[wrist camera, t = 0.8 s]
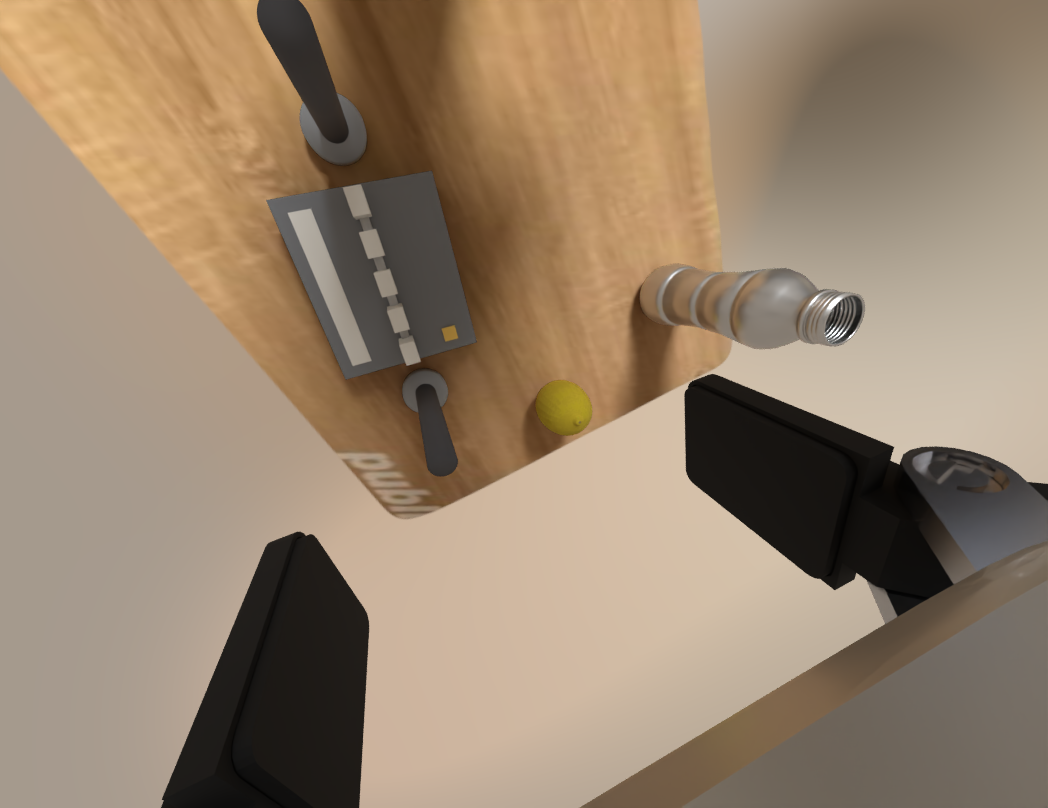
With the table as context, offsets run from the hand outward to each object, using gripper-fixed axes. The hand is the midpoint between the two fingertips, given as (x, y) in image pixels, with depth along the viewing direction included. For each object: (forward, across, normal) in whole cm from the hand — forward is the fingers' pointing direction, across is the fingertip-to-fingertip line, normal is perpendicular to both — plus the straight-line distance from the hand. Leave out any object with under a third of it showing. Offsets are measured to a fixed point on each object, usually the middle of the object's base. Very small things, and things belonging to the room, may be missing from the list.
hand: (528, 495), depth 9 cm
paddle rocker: (+27, +2, -3) cm, 27 cm away
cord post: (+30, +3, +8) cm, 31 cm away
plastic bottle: (+30, -25, +6) cm, 40 cm away
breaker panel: (+30, +2, -3) cm, 30 cm away
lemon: (+30, -10, +13) cm, 34 cm away
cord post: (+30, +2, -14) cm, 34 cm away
